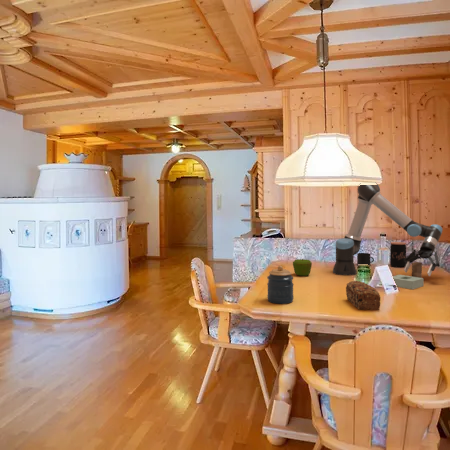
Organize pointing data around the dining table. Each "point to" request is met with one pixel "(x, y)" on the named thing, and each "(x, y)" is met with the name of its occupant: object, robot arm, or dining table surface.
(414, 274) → the slat
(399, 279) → the end cap
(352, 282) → the bread
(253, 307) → the dining table surface
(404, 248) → the coffee jar
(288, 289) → the canister
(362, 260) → the mug
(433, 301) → the dining table surface
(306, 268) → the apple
